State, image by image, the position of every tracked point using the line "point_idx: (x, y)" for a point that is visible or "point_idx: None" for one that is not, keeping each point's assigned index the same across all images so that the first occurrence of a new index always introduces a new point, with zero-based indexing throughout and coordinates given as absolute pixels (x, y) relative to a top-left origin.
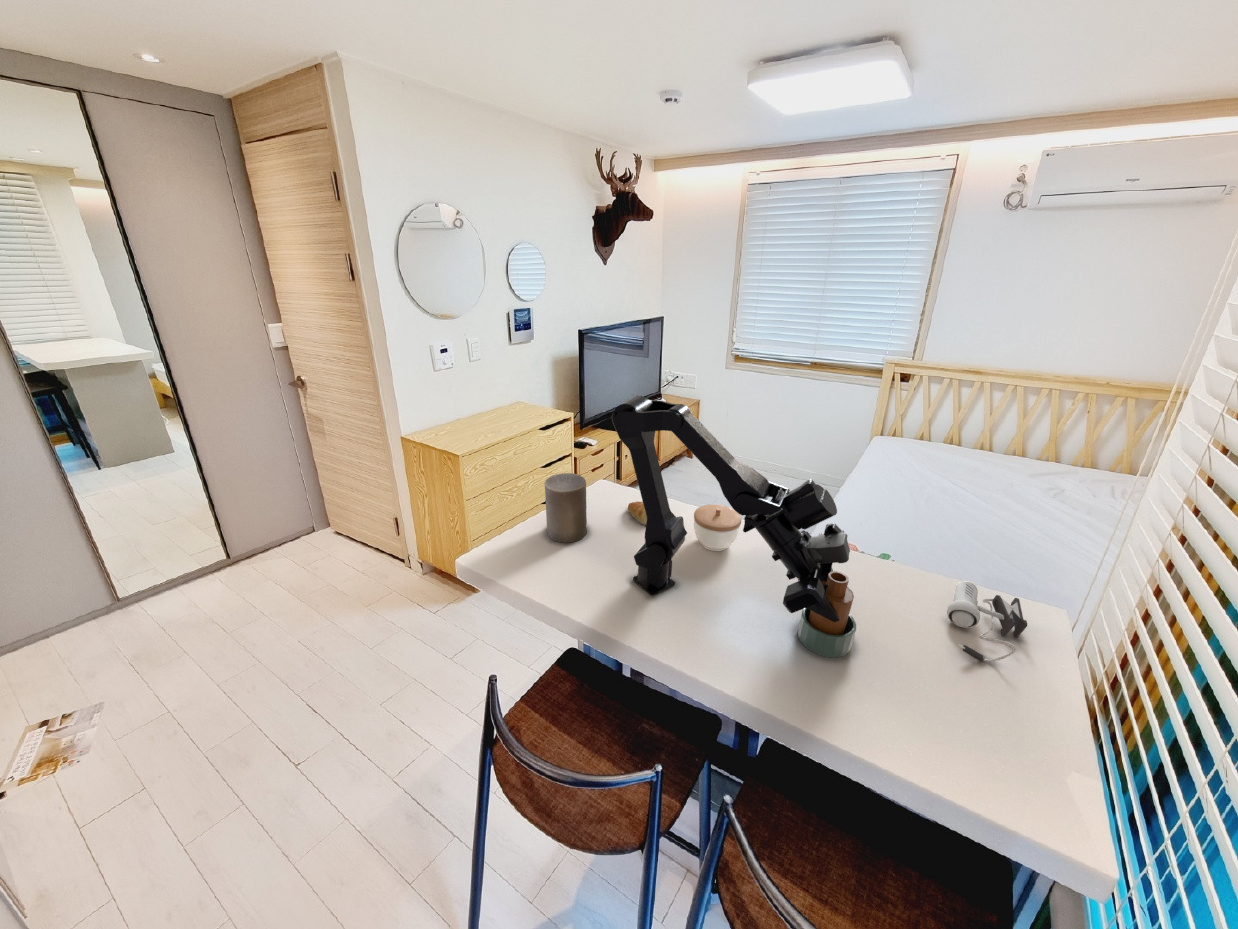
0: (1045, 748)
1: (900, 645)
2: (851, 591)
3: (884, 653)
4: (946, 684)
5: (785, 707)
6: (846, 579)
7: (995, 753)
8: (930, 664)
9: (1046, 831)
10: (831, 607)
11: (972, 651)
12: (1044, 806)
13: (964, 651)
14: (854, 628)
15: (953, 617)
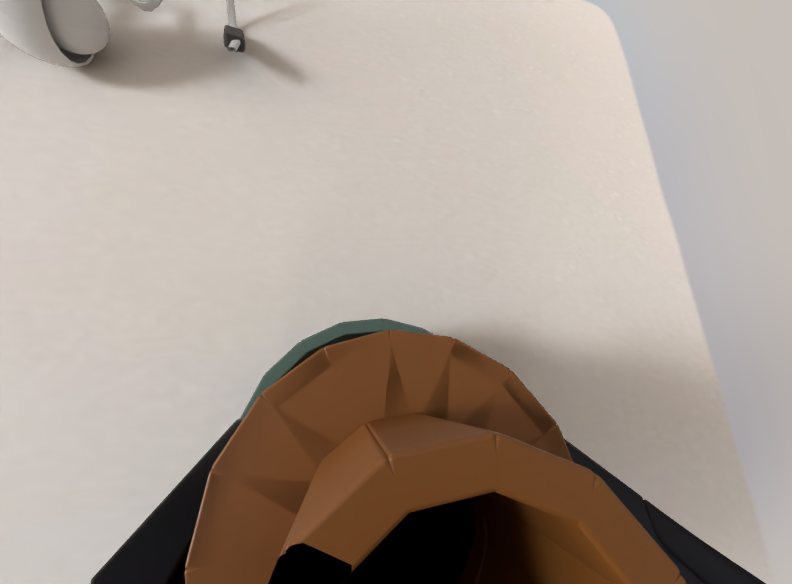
0: (446, 6)
1: (270, 203)
2: (313, 361)
3: (334, 244)
4: (373, 117)
5: (714, 472)
6: (474, 490)
7: (510, 71)
8: (316, 140)
9: (605, 45)
10: (621, 489)
11: (235, 32)
12: (565, 37)
13: (244, 49)
14: (380, 325)
15: (75, 36)
